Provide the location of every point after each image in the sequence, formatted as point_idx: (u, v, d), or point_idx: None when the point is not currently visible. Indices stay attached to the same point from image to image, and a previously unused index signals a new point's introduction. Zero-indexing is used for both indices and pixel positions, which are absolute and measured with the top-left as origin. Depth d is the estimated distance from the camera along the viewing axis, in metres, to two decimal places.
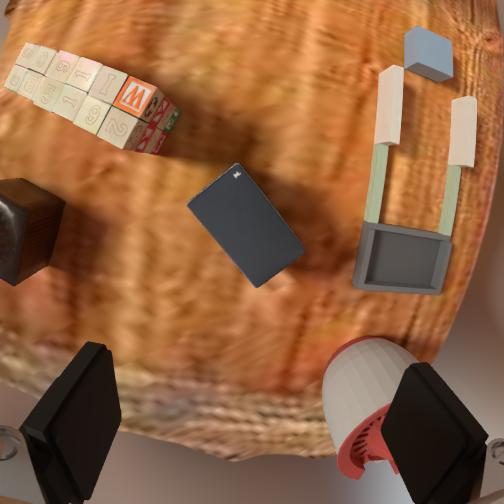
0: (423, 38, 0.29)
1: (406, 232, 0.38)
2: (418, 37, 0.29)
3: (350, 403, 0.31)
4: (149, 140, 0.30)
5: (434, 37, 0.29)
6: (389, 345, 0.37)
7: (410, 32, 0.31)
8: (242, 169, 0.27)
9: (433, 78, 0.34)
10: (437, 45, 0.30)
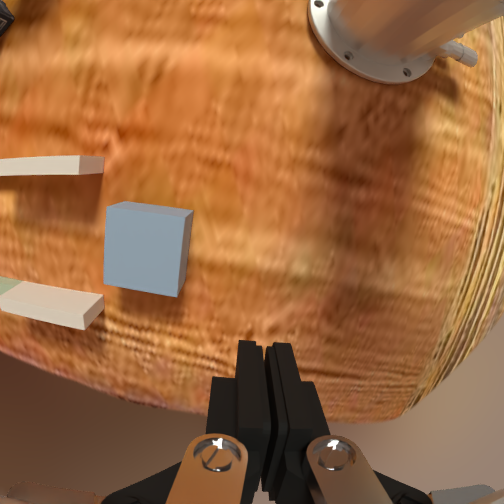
0: (159, 229, 0.22)
1: None
2: (157, 216, 0.22)
3: None
4: None
5: (170, 256, 0.22)
6: None
7: (183, 212, 0.23)
8: None
9: None
10: (154, 258, 0.22)
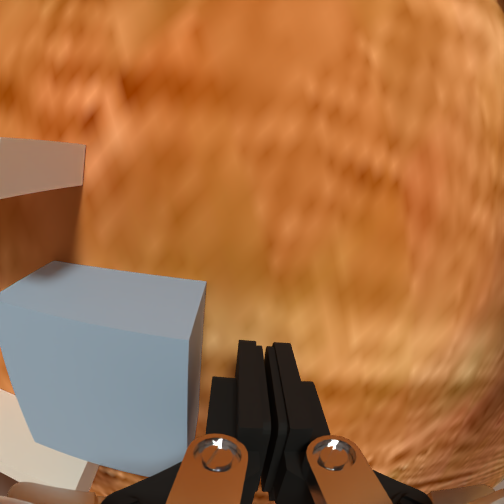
0: (119, 365, 0.07)
1: None
2: (106, 335, 0.07)
3: None
4: None
5: (160, 423, 0.07)
6: None
7: (183, 304, 0.09)
8: None
9: None
10: (122, 424, 0.08)
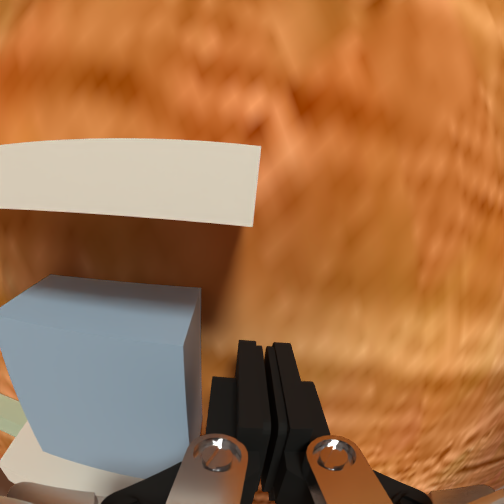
0: (117, 373, 0.07)
1: None
2: (104, 344, 0.07)
3: None
4: None
5: (161, 427, 0.08)
6: None
7: (178, 310, 0.09)
8: None
9: None
10: (125, 430, 0.08)
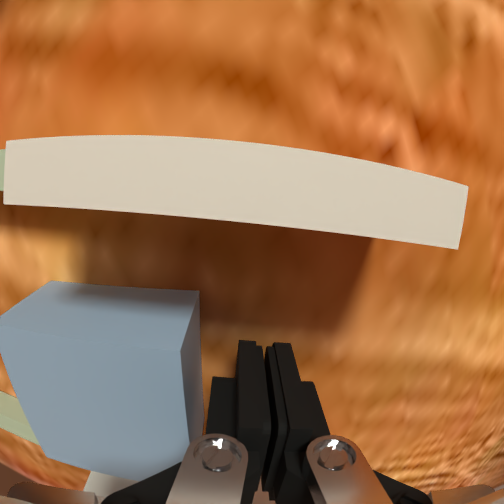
0: (117, 378, 0.07)
1: None
2: (102, 350, 0.07)
3: None
4: None
5: (162, 431, 0.08)
6: None
7: (175, 314, 0.09)
8: None
9: None
10: (126, 434, 0.08)
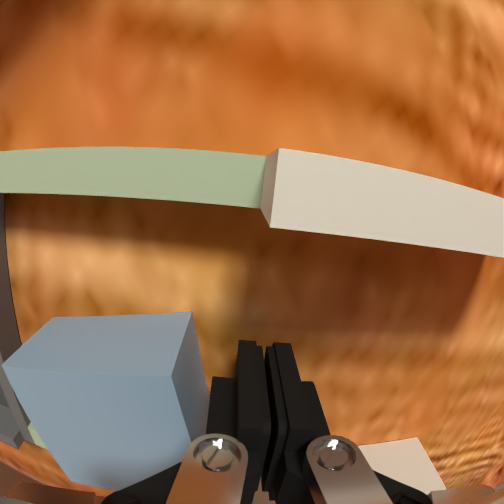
0: (119, 405, 0.07)
1: None
2: (102, 381, 0.07)
3: None
4: None
5: (169, 449, 0.08)
6: None
7: (168, 339, 0.09)
8: None
9: None
10: (138, 454, 0.08)
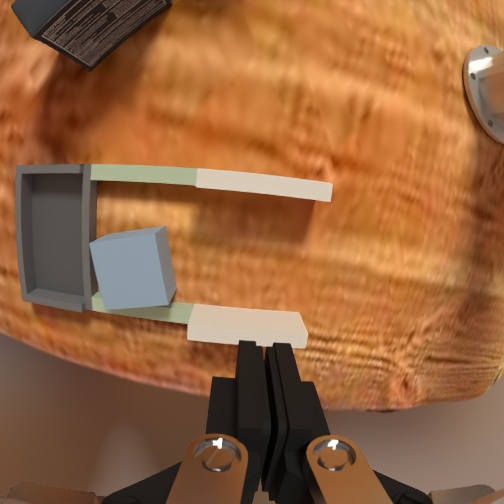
0: (136, 249, 0.24)
1: (83, 229, 0.26)
2: (131, 239, 0.24)
3: None
4: None
5: (152, 270, 0.25)
6: None
7: (155, 230, 0.26)
8: None
9: None
10: (140, 276, 0.25)
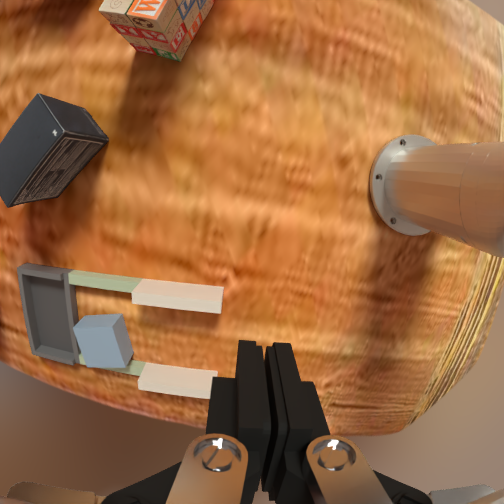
0: (102, 334, 0.35)
1: (69, 314, 0.37)
2: (98, 328, 0.35)
3: None
4: (131, 35, 0.25)
5: (113, 347, 0.35)
6: None
7: (114, 320, 0.37)
8: (59, 137, 0.23)
9: None
10: (106, 350, 0.36)
